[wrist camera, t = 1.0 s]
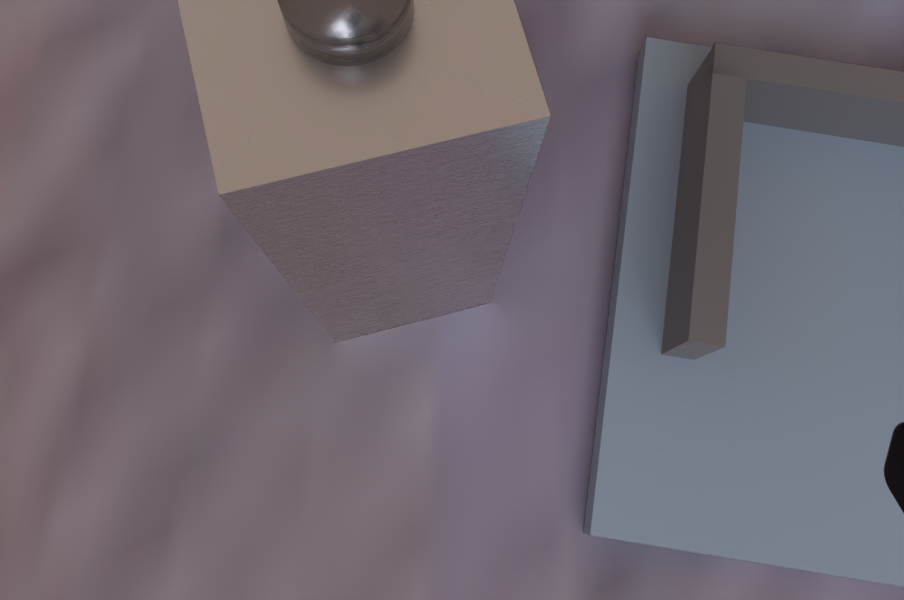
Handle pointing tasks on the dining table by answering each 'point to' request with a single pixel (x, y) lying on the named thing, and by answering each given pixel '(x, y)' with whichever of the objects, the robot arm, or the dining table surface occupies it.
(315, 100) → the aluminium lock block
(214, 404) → the dining table surface
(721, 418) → the coupler cradle
